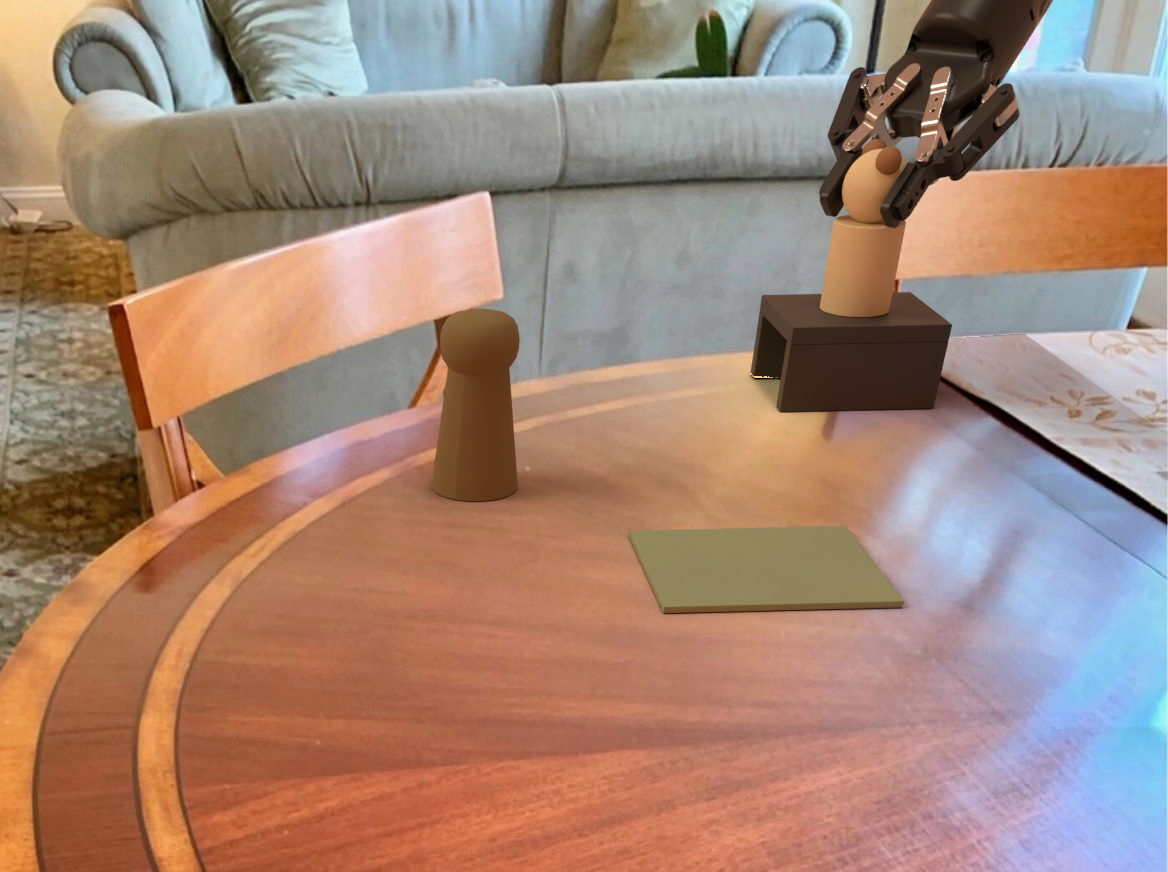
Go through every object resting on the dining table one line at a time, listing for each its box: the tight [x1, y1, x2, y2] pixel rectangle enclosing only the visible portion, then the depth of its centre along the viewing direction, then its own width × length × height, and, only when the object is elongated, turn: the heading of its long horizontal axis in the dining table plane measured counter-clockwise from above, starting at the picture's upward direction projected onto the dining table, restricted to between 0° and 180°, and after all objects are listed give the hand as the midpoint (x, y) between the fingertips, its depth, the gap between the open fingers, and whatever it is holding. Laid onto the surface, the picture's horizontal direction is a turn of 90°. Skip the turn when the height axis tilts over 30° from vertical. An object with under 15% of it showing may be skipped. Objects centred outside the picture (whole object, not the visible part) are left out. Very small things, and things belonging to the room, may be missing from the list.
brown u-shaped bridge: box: [750, 291, 953, 413], centre depth 116 cm, size 12×10×6 cm
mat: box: [628, 525, 905, 614], centre depth 90 cm, size 14×12×1 cm
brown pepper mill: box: [430, 308, 521, 502], centre depth 98 cm, size 6×6×11 cm
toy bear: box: [820, 139, 908, 317], centre depth 110 cm, size 5×5×11 cm
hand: (857, 213), depth 108 cm, fingers closed on toy bear, 4 cm apart
